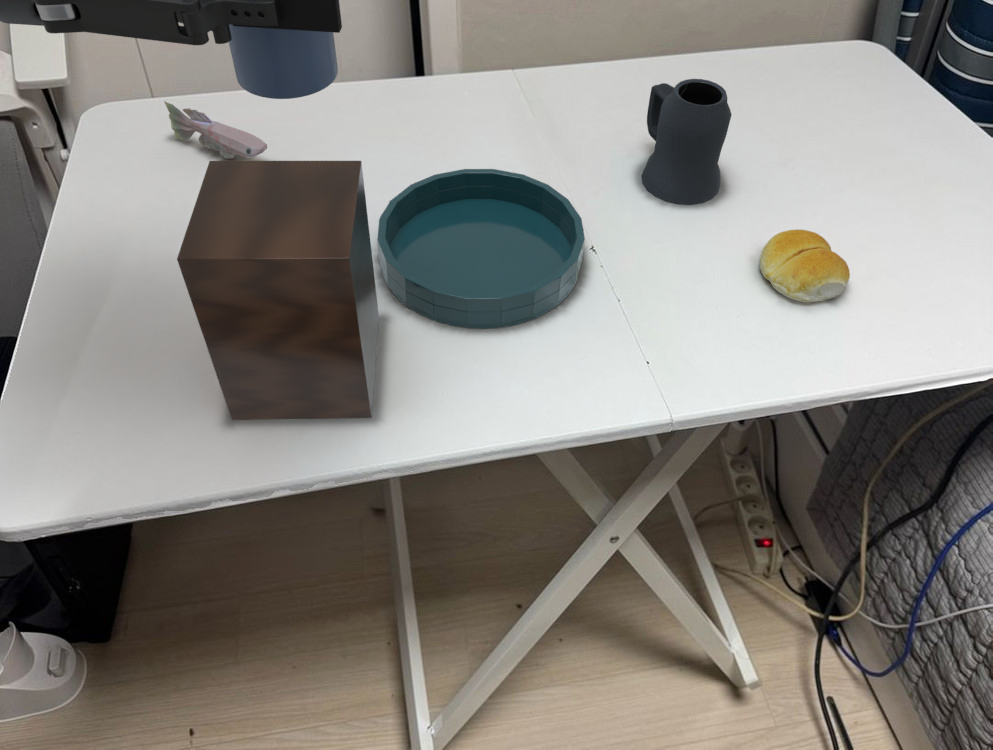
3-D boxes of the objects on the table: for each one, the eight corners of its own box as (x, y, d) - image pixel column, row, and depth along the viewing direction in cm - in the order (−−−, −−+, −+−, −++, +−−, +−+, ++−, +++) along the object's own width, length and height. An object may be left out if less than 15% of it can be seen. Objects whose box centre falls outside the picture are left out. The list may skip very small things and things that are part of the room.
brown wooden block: (231, 419, 71) (176, 259, 58) (253, 321, 79) (209, 160, 66) (371, 417, 72) (349, 258, 58) (379, 320, 80) (361, 160, 66)
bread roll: (810, 241, 90) (821, 211, 87) (856, 296, 84) (870, 266, 81) (741, 254, 88) (751, 223, 85) (783, 311, 82) (795, 280, 79)
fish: (182, 132, 100) (171, 95, 97) (276, 165, 96) (269, 127, 93) (167, 143, 99) (155, 105, 95) (262, 177, 95) (253, 139, 91)
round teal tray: (375, 330, 79) (371, 299, 76) (386, 199, 93) (383, 168, 90) (590, 328, 80) (595, 297, 77) (569, 198, 94) (573, 168, 91)
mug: (735, 193, 95) (761, 104, 87) (668, 212, 92) (688, 122, 84) (678, 139, 102) (696, 52, 94) (614, 155, 99) (627, 67, 91)
